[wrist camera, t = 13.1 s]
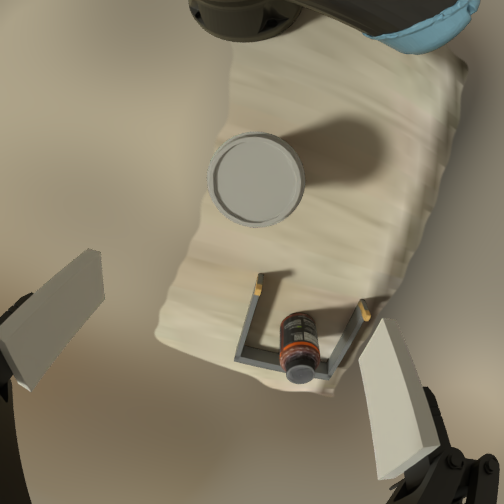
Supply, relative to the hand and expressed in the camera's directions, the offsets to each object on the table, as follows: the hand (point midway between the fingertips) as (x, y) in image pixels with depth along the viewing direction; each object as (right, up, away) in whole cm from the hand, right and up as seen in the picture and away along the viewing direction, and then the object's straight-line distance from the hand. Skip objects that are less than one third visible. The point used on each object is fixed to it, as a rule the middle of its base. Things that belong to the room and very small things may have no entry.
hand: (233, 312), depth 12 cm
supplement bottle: (+8, -10, +34) cm, 36 cm away
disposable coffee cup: (+2, +14, +25) cm, 28 cm away
